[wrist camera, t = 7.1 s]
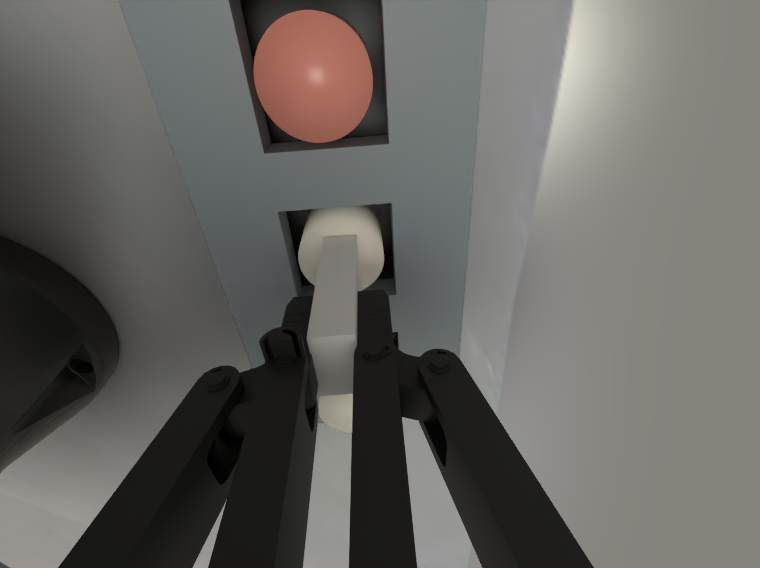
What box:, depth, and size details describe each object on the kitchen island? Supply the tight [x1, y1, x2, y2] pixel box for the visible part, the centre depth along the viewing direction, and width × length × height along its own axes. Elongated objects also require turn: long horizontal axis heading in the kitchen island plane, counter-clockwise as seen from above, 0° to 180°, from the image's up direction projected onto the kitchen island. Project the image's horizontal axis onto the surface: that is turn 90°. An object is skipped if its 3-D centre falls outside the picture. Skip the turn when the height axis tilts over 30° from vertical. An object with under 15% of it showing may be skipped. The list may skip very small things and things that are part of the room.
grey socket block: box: [118, 0, 487, 424], centre depth 20 cm, size 25×12×5 cm, turn 4°
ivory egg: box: [318, 394, 353, 433], centre depth 22 cm, size 4×4×5 cm
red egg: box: [254, 10, 373, 143], centre depth 15 cm, size 4×4×5 cm
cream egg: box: [298, 204, 384, 290], centre depth 20 cm, size 4×4×5 cm
